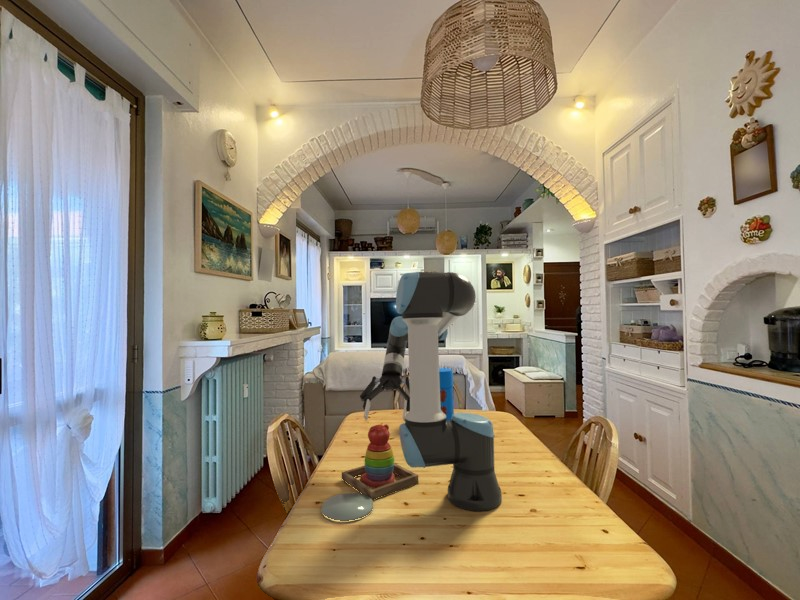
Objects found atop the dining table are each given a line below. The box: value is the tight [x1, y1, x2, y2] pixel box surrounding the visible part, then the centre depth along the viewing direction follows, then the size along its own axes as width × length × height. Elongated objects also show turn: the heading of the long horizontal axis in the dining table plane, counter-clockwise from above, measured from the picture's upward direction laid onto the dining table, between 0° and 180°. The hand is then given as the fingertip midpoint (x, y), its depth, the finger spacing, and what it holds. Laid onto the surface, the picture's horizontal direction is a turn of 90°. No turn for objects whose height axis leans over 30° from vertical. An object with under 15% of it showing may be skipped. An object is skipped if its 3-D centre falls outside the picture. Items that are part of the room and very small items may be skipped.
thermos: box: [439, 367, 455, 421], centre depth 185 cm, size 11×11×25 cm
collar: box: [341, 462, 419, 501], centre depth 121 cm, size 17×17×2 cm
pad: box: [321, 492, 374, 521], centre depth 105 cm, size 14×14×1 cm
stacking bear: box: [359, 424, 396, 489], centre depth 121 cm, size 11×10×18 cm
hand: (384, 418), depth 131 cm, fingers open, 13 cm apart
